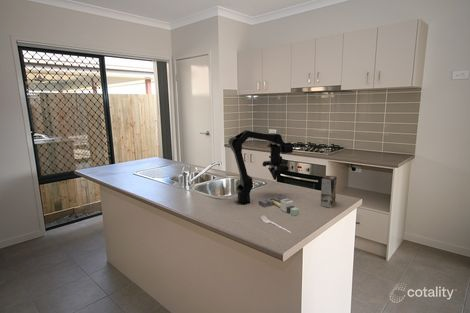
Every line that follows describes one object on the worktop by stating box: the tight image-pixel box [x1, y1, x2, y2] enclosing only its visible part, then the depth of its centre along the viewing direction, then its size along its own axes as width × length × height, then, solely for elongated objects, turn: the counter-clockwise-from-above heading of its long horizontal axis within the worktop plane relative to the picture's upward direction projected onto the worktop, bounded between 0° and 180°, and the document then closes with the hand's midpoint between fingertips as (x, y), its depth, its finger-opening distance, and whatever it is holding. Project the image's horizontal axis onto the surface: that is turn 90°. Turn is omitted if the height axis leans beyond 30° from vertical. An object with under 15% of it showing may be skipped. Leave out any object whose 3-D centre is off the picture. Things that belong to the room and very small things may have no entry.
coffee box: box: [320, 175, 338, 208], centre depth 162 cm, size 9×6×16 cm
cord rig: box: [258, 195, 300, 216], centre depth 158 cm, size 23×16×3 cm
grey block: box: [279, 198, 294, 213], centre depth 155 cm, size 5×5×5 cm
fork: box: [259, 215, 292, 234], centre depth 137 cm, size 3×20×2 cm, turn 36°
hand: (274, 179), depth 172 cm, fingers closed
